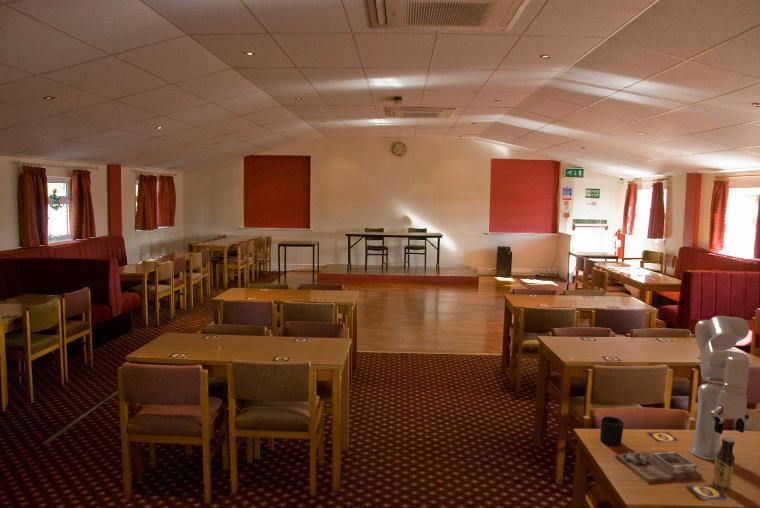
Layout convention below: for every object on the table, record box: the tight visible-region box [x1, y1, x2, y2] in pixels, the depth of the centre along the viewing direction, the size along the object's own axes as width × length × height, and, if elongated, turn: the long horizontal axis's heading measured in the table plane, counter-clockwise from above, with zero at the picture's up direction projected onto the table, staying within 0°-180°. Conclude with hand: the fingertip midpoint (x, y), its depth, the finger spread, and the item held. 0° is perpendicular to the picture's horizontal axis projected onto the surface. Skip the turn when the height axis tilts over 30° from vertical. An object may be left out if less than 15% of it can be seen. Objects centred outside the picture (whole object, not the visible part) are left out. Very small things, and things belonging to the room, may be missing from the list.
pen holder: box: [599, 416, 625, 447], centre depth 251 cm, size 9×9×10 cm
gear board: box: [614, 450, 703, 484], centre depth 229 cm, size 25×20×5 cm
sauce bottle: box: [711, 436, 736, 491], centre depth 215 cm, size 6×6×20 cm
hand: (728, 431), depth 213 cm, fingers open, 9 cm apart
